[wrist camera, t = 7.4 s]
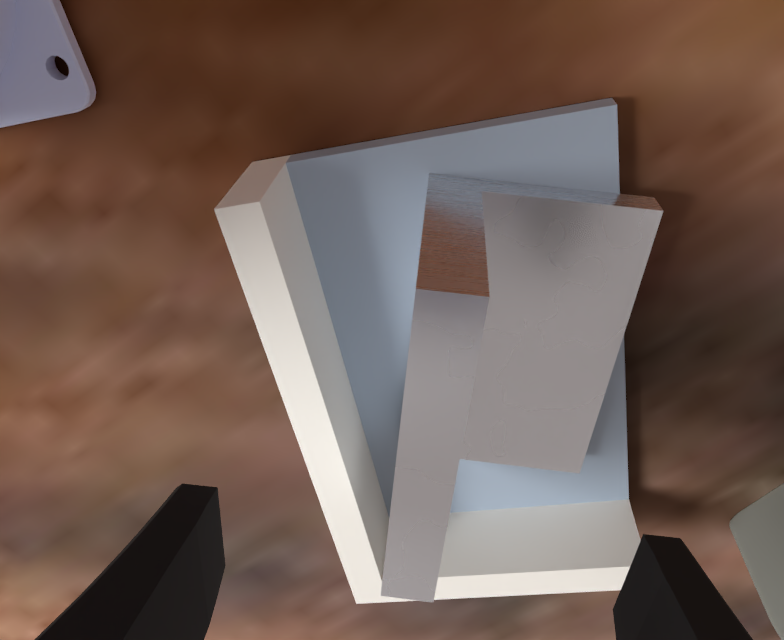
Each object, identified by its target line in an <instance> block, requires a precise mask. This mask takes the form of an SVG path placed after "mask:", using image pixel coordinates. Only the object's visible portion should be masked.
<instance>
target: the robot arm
mask: <svg viewBox="0 0 784 640" xmlns="http://www.w3.org/2000/svg"><path fill="white" fill-rule="evenodd" d="M56 56H59V57H60V58H62V59H64V61H65V62H66V63H67V65H68V68H69V74H68V76H65V75H63V74H62V73H60V72H59V71H58V69H57V68H56V65H55V57H56ZM95 96H96V89H95V85H94V82H93V79H92V77H91V74H90V72H89V70H88V67H87V65H86V62H85V60H84V58H83V55H82V53H81V50H80V48H79V46H78V43H77V41H76V38H75V36H74V34H73V31H72V29H71V26H70V24H69V22H68V19H67V17H66V14H65V12H64V10H63V7H62V5H61V2H60V0H0V128H2V127H7V126H12V125H17V124H22V123H26V122H31V121H36V120H41V119H46V118H51V117H56V116H61V115H66V114H71V113H76V112H79V111H81V110H83V109H85V108H87V107H89V106H91V104H92V103H93V102H94V100H95ZM224 569H225V557H224V548H223V538H222V528H221V518H220V508H219V498H218V488H217V487H208V486H199V485H190V484H181V485H180V486H178V487H177V488H176V489H175V490H174V491H173V493H172V494H171V495H170V496H169V497H168V499H167V500H166V501H165V502H164V503H163V505H162V506H161V507H160V508H159V509H158V510H157V512H156V513H155V514H154V515H153V516H152V517H151V519H150V520H149V521H148V522H147V523H146V524H145V526H144V527H143V528H142V529H141V530H140V531H139V532H138V534H137V535H136V536H135V537H134V538H133V539H132V540H131V541H130V543H129V544H128V545H127V546H126V547H125V548H124V549H123V550H122V551H121V553H120V554H119V555H118V556H117V557H116V558H115V559H114V560H113V561H112V562H111V563H110V564H109V565H108V566H107V567H106V568H105V570H104V571H103V572H102V573H101V574H100V575H99V576H98V577H97V578H96V579H95V580H94V581H93V582H92V583H91V584H90V586H89V587H88V588H87V589H86V590H85V591H84V592H83V593H82V594H81V595H80V596H79V597H78V598H77V599H76V600H75V601H74V602H73V603H72V604H71V605H70V606H69V607H68V608H67V609H66V610H65V611H64V612H62V613H61V614H60V615H59V616H58V617H57V618H56V619H55V620H54V621H53V622H52V623H51V624H50V625H49V626H48V627H47V628H46V629H45V630H44V631H43V632H42V633H41V634H40V635H39V636H38V637H37V638H36V639H35V640H204V638H205V635H206V633H207V630H208V627H209V624H210V621H211V617H212V614H213V610H214V606H215V603H216V599H217V595H218V592H219V588H220V584H221V580H222V576H223V572H224ZM613 614H614V623H615V632H616V640H753V639H752V638H751V636H750V635H749V634H748V632H747V631H746V630H745V628H744V627H743V625H742V624H741V623H740V621H739V620H738V619H737V617H736V616H735V614H734V613H733V612H732V610H731V609H730V607H729V606H728V605H727V603H726V602H725V600H724V599H723V598H722V596H721V595H720V593H719V592H718V591H717V589H716V588H715V586H714V585H713V584H712V582H711V581H710V579H709V578H708V576H707V575H706V574H705V572H704V571H703V569H702V568H701V566H700V565H699V564H698V562H697V561H696V559H695V558H694V556H693V555H692V554H691V552H690V551H689V549H688V548H687V547H686V545H685V544H684V543H683V541H682V540H681V539H680V538H673V537H664V536H654V535H645V534H643V536H642V539H641V541H640V544H639V546H638V549H637V551H636V554H635V556H634V559H633V561H632V564H631V566H630V568H629V571H628V573H627V576H626V578H625V581H624V583H623V586H622V588H621V591H620V593H619V596H618V598H617V601H616V603H615V606H614V608H613Z"/></svg>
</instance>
